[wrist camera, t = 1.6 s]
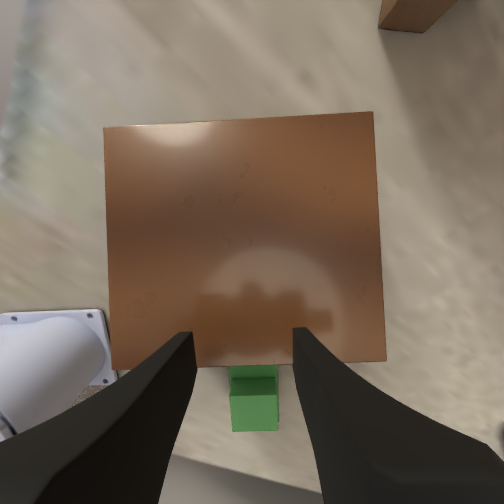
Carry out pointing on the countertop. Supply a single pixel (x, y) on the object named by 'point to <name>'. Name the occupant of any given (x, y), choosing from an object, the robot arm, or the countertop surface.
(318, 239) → the lid
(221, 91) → the countertop surface
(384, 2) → the wooden toy
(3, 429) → the robot arm
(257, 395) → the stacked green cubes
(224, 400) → the countertop surface
